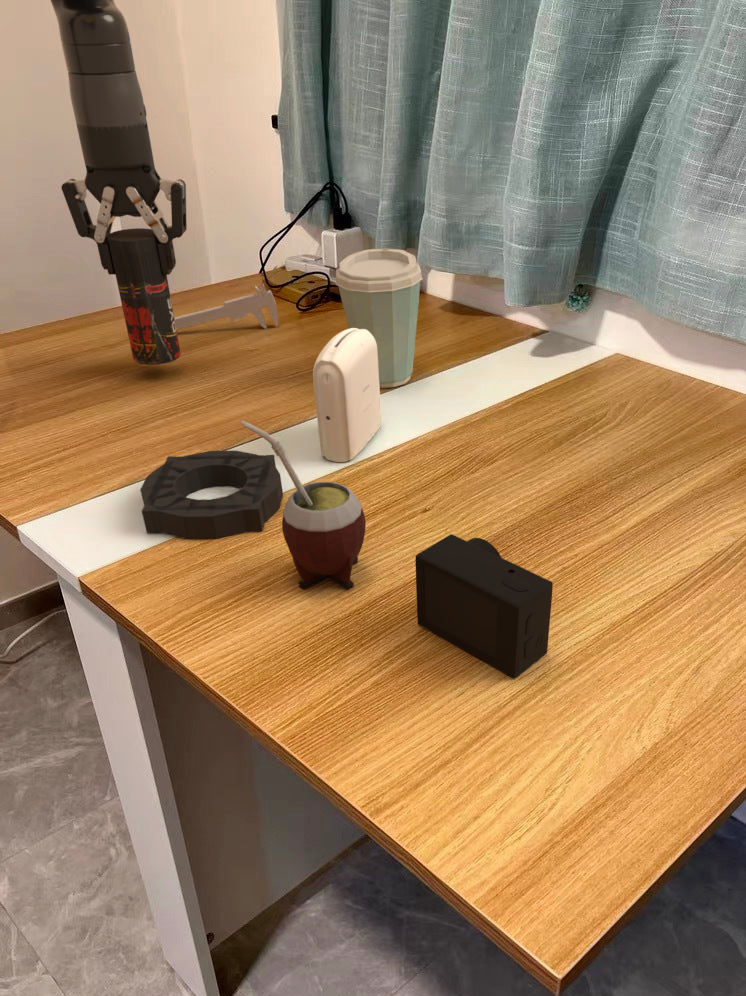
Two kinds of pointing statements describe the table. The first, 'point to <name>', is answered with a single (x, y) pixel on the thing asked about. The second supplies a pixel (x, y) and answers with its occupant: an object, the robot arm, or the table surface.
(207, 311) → the caliper
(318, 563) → the mate gourd
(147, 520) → the dock pad
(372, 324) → the disposable coffee cup
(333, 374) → the photo printer
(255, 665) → the table surface
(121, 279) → the deodorant
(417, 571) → the digital camera
